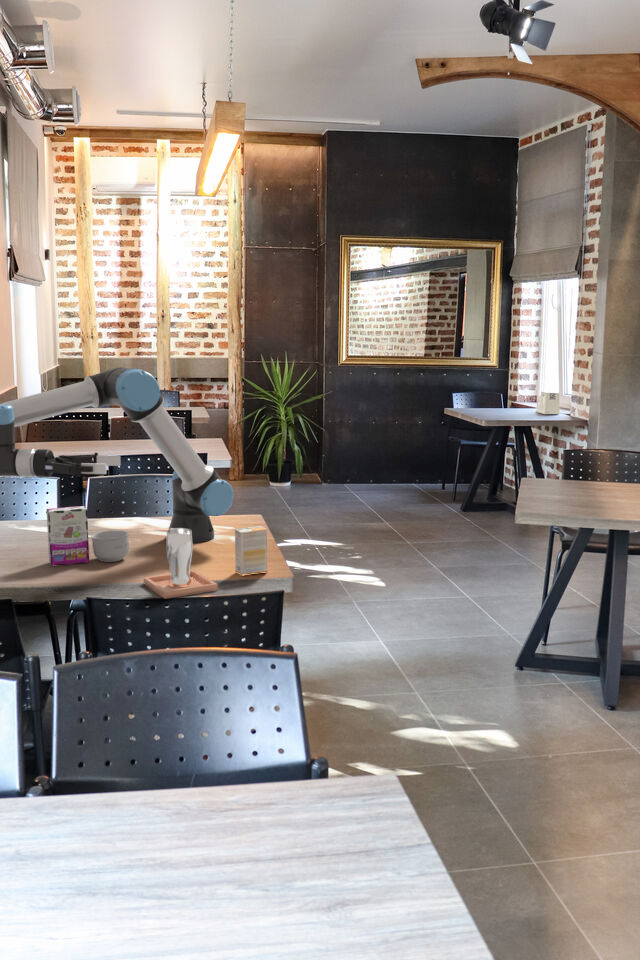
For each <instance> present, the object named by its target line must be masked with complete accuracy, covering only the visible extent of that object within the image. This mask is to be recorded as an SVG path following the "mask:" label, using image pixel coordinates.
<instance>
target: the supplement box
mask: <svg viewBox="0 0 640 960" xmlns="http://www.w3.org/2000/svg"><path fill="white" fill-rule="evenodd" d="M234 543H235V544H234V548H235V549H234V550H235V551H234V552H235V553H234V556H235V557H234V558H235V560H234V561H235V563H234V564H235V573H236V572H238V573H240V574H241V575H242V574H251V573H261V572H267V573H268V528H265V527H263V526H261V525H259V526H249V527H241V528H235V529H234Z"/></svg>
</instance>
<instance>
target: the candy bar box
mask: <svg viewBox="0 0 640 960" xmlns="http://www.w3.org/2000/svg"><path fill="white" fill-rule="evenodd" d="M88 523H89V522H88V508H87V507H86V506H85V505H81V506H78V505H77V506H68V507H67V506H66V507H53V508H46V525H47V528H46V529H47V544H48V547H47V548H48V561H49V562H50V563H49V565H50V566H51V567H54V566H53V565H62V566H69V565H68V564H72V565H79V564H80V563H82V564H88V563H90V549H89V548H90V547H89V546H90V545H89V525H88ZM80 565H81V564H80Z"/></svg>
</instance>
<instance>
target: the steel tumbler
mask: <svg viewBox="0 0 640 960" xmlns="http://www.w3.org/2000/svg"><path fill="white" fill-rule="evenodd" d="M168 529H169V528H168ZM168 529H167V530H166V540H165V545H166V546H165V547H166V549H165V551H166V557H167V562H168V567H169V574H170V579H169V586H170V587H173V588H185V587H189V586H191V579H190V571H191V563H192V558H193V557H192V555H193V546H194V545H193V542H192V530H191V529H187V528H173V529H169V530H168Z"/></svg>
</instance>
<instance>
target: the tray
mask: <svg viewBox="0 0 640 960" xmlns="http://www.w3.org/2000/svg"><path fill="white" fill-rule="evenodd" d="M190 577H191V578H192V577H193V579H191V578H190V579H191V586H189V587H185V588H173V587H170V586H169V579H170V573H166V574H159V575H152V576H146V577H143V584H144V583H145V586H146V587H148V588H149V589H150V590H151V591H153V592H154V593H156V594H157V595H159V596H160V597H162V598H163V599H164V600H165V599H166V600H167V599H172V598H177V597H179V598H180V597H184V596H191V595H196V594H203V593H210V592H217V591H218V583H216V582H215V581H213V580H211V579H209V578H208V577H206V576H205V575H203V574H201V573H199V571H196V570H194V569H193V570H190ZM194 578H195V579H194Z"/></svg>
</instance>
